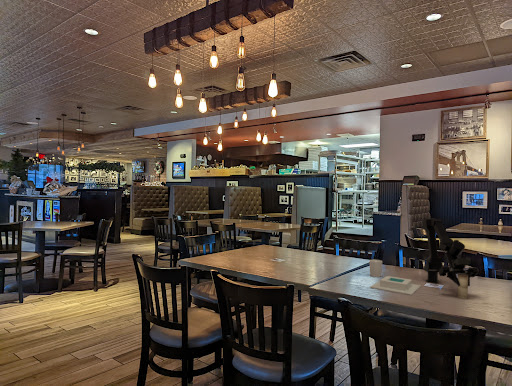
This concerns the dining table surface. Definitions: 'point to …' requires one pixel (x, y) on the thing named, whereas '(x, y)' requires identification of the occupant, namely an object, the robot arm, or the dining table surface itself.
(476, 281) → the dining table surface
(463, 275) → the tan cylinder
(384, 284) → the cream stepped platform
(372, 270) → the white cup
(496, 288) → the dining table surface
